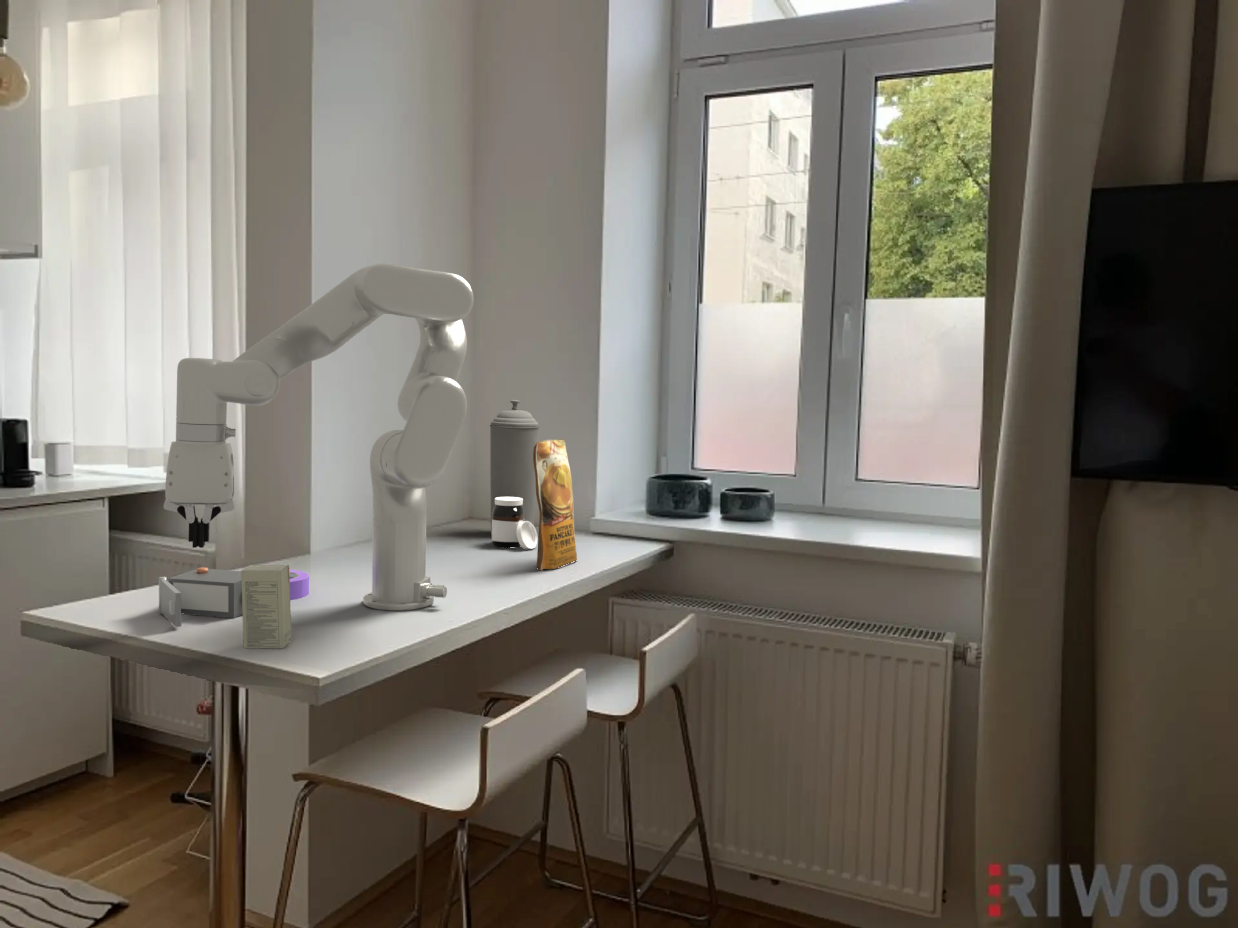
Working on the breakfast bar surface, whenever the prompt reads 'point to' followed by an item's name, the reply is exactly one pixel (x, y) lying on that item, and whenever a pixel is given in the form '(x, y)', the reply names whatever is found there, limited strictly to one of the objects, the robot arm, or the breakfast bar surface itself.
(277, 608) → the skincare box
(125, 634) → the breakfast bar surface
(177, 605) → the side door
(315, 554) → the breakfast bar surface
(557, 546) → the pancake mix bag
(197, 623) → the breakfast bar surface
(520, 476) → the canister
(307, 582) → the masking tape
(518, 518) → the spread jar
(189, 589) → the toy microwave oven
